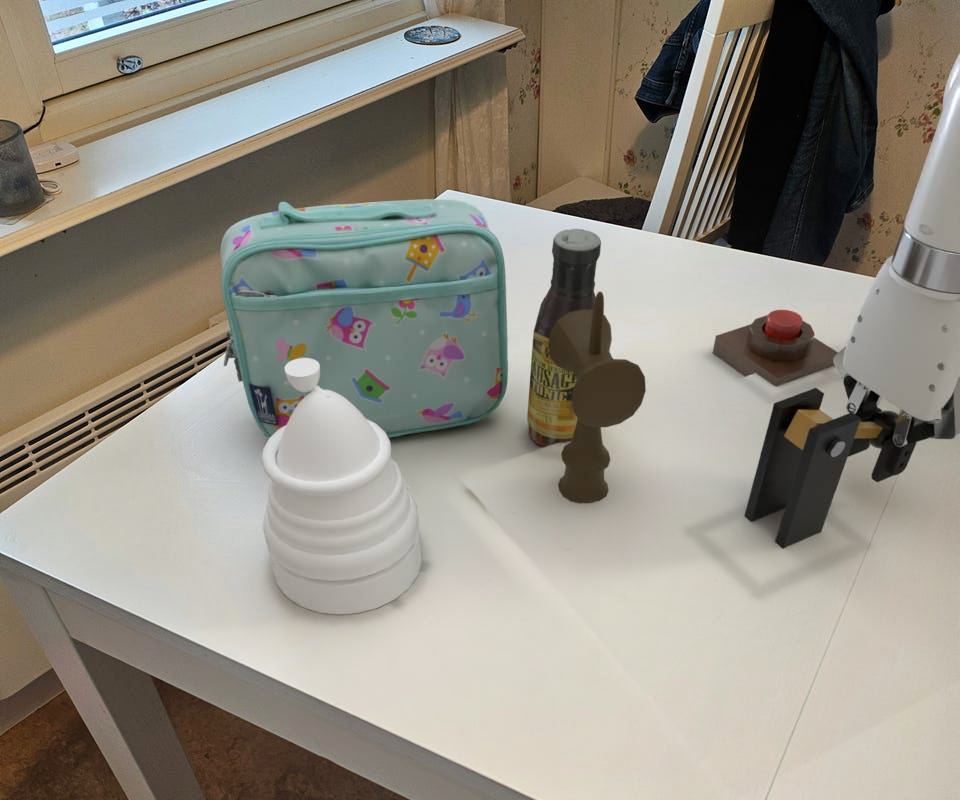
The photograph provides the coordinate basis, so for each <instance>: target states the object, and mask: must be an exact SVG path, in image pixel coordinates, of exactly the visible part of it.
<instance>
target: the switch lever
mask: <svg viewBox="0 0 960 800" xmlns="http://www.w3.org/2000/svg"><path fill="white" fill-rule="evenodd" d="M898 416H899V413H898V412H896V411H892V410H882V411H881V412H878V413H876V414H875V415H873V416H872V417H871V418H870V419H869V420H868V422H860V423H859V426H858V429H857V432H856V435H855V437H854V438H866V440H867V441H868V442H869V444H870V446H871V447H873V448H875V449H880V450H881V449H882V446H883V444H884V442H885V441H886V440H888V439H891V438H893V435H894V431H895V427H896V424H897V420H898ZM833 419H834V418H832V417H831V416H829V415H828V414H826V413H825V412H824V411H822V410H821V409H819V410H798V411H797V412H796V414H795V416H794V418H793V420H792V422H791V424H790V425H789V427H788V429H787V431H786V433H785V435H784V437H785V438H787V439H788V440H789V441H791V442H792V443H793V444H795V445H796V446H797V447H799V448H800V449H801V450H803V449H804V445H805V442H806V439H807V436H808V432H809V429H810V428H813V427H815V426H818V425H820V424H823V423H826V422H828V421H831V420H833Z"/></svg>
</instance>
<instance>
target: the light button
mask: <svg viewBox="0 0 960 800" xmlns="http://www.w3.org/2000/svg"><path fill="white" fill-rule="evenodd" d="M767 315H768V317H767V321H766V325H765V329H764V332H765V334H766V335H768V336H769V337H771V338H775V339H779V340H793V339H796V338H797V337H798V336H799V333H800V329H801V325H802V321H804V319H803V317H802V315H800V314H799V313H797V312H795V311H793V310H789V309H776V310H772V311H770V312H769V313H768V314H767Z"/></svg>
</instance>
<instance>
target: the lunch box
mask: <svg viewBox="0 0 960 800" xmlns="http://www.w3.org/2000/svg"><path fill="white" fill-rule="evenodd" d="M219 253H220V263H221V271H222V272H221V277H220V290H221V292H220V293H221V297H222V301H223V306H224V308H225V313H226V317H227V321H228V325H229V329H230V331H227V332H226V333H225V335H226V337H228V338H230V342H228V343H227V345H226V349H225V355H224V359H223V367H226V366H227V365H228V362H229V359H233V363H234V366H235V370H236V375H237V380H238V382H239V383H241V382H242V386H243V388H244V392H245V397H246V400H247V404H248V406H249V409H250V412H251V414H252V417H253V420H254V422H255V423H256V424H257V426H258V428H259V429H260V431H261V432H262V433H263V434H264V435H265V436H266V438H267V439H269V438H270V437H271V436H272V435H273V434H274V433H275V432H276V431H277V430H279V429H280V428H282V427H284V426H285V425H287V423H288V421H289V419H290V417H291V415H292V413H293V411H294V410H295V408H296V406H297V405H298V404H299V402H300V401H301V400H302V399H303V398H304V397H305V396H307V395H308V394H309V393H311V391H309V392H301V391H298V390H297V389H295V388H294V387H293V386H292V385H291V384H290V382H289V381H288V379H287V376H286V373H285V370H284V369H285V366H286V364H287V363H289V362H290V361H292V360H295V359H299V358H311V359H314V360H316V361H317V362H318V363H319V364H320V378H319V381H318V383H317V386H319V387H320V388H321V389H323V390H330V391H333V392H336V393H338V394H340V395H341V396H343V397H344V398H346V399H347V400H348V401H349V402H350V403H352V404H353V405H354V406H355V407H356V408H357V409H358V410H359V411H360V412H361V414H362V415H363V416H364V417H365V418H366V419H368V420H370V421H372V422H374V423H376V424H377V425H378V426H379V427H380V428H381V429H382V430H383V431H384V432H385V433H386V434H387V436H388V438H389V439H390V438H391V439H392V438H395V437H401V436H404V435H410V434H419V433H423V432H431V431H432V432H433V431H439V430H443V429H448V428H454V427H459V426H460V427H461V426H467V425H471V424H475V423H476V422H479V421H481V420H482V419H484V418H486V417H488V416H489V415H490V414H491V413H493V412H494V411H495V410H496V409H497V408H498V407H499V406H500V404H501V402H502V400H503V399H504V396H505V395H506V391H507V388H508V379H509V359H508V356H509V355H508V352H509V351H508V348H509V347H508V341H509V340H508V339H509V338H508V312H507V311H508V310H507V285H506V284H507V282H506V266H505V257H504V252H503V248H502V245H501V243H500V241H499V238H498V237H497V236H496V234H494V233H493V231H491V230H490V226H489V223H488V222H487V219H486V217H485V216H484V214H483V213H482V212H481V211H480V210H479V209H478V208H477V207H476V206H474V205H473V204H470V203H468V202H465V201H461V200H456V199H438V198H436V199H434V198H430V199H429V198H425V199H424V198H423V199H404V200H402V199H401V200H384V201H372V202H369V201H368V202H358V203H343V204H327V205H317V206H307V207H306V206H305V207H298V208H294V207H293V206H292V205H290V203H288V202H286V201H280V203H278V210H276V211H271V212H266V213H262V214H257V215H253V216H250V217H246V218H244V219H241V220H240V221H238V222H236V223H234V224H233V225H231V226H230V227H229V228H227V230H226V232H225V233H224V235H223V237H222V240H221V245H220V252H219Z"/></svg>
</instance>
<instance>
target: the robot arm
mask: <svg viewBox="0 0 960 800" xmlns="http://www.w3.org/2000/svg"><path fill="white" fill-rule="evenodd" d="M943 91H944V92H943V97H942V98H943V99H942V110H941V114H940V117H939V120H938V122H937V123H938V124H937V126H936V130H935V131H934V135H933V138H932V141H931V143H930V147H929V149H928V153H927V155H926V158H925V161H924V164H923V167H922V170H921V172H920V176H919V179H918V181H917V185H916V188H915V190H914V194H913V196H912V199H911V203H910V205H909V207H908V212H907V213H906V217H905V221H904V223H903V226H902V227H901V232H900V235H899V238H898V240H897V244H896V245H895V246H896V247H895V249H894V252H893V254H892V255H891V256H889V257H888V258H886V259H885V261H884V263H883V264H882V266H881V268H880V269H879V271H878V272H877V274H876V276H875V278H874V279H873V282H872V283H871V284H870V287H869V289H868V291H867V293H866V295H865V297H864V299H863V302H862V304H861V306H860V308H859V311H858V313H857V315H856V318H855V320H854V322H853V325H852V327H851V331H850V333H849V336H848V339H847V342H846V345H845V346H844V347H842V348H841V349H840V350H839V351H838V354H836V355H835V356H834V358H833V363H834V367H835V368H836V371H837V373H838V374H839V376H840V377H841V379H843V381H842V382H843V386H844V390H845V394H846V397H847V403H846V405H845V410H846V412H847V414H849V413H851V412H852V413H854V414H855V415H857V416H858V417H860V418H861V420H860V422H868V420H869V419H870V418H871V417H872V416H873V415H875V414H876V413H878V412H881V411H883V409H881V408H880V407H878V406H879V405H880V404H881V402H882V400H883V399H884V400H886V401H888V403H891V404H892V405H894V406H895V407H897V408H898V409H899V412H898V414H899V416H898V420H897V424H896V427H895V431H894V435H893V438H891V439H888V440H886V441H885V442H884V444H883V446H882V449H880V451H879V453H878V456H877V459H876V462H875V464H874V466H873V469H872V472H871V476H870V477H871V479H872V480H873V481H874V482H876V483H879V482H882V481H885V480H886V479H889V478H891V477H894V476H897V475H900V474H902V473H904V471H905V470H906V468H907V467H908V464H909V462H910V460H911V457H912V455H913V452H914V450H915V448H916V446H917V443H918V442H921V441H925V440H928V439H934V440H954V439H956V438H959V437H960V53H958V55H957V57H956V59H955V61H954V64H953V65H952V68H951V70H950V73H949V75H948V78H947V80H946V83H945V87H944V90H943ZM939 411H940V413H941V415H940V416H941V419H939V418H937V417H936V416H937V415H938V413H939ZM870 447H871V445H870V444H869V442H868V441H867V440H866V438H854V440H853V443H852V446H851V449H850V452H849V455H848V457H847V458H849V457H852V456H854V455H856V454H859V453H861V452H864V451H868V449H869V448H870Z"/></svg>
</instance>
